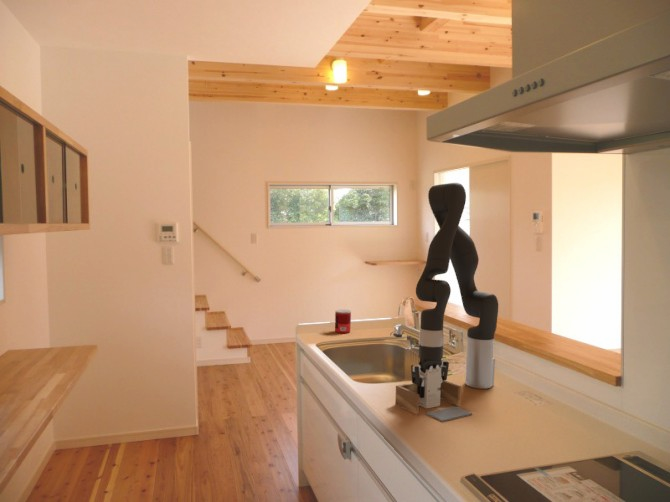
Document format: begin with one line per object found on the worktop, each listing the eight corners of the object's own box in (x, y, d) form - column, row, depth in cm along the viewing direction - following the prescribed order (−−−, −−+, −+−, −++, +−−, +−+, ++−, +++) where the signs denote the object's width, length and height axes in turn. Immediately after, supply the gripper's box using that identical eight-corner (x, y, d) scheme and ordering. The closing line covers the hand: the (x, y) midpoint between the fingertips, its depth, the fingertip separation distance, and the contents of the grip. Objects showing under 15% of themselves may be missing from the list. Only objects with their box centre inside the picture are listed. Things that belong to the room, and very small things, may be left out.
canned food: (353, 332, 273) (354, 311, 272) (342, 334, 267) (343, 312, 266) (342, 329, 278) (342, 308, 277) (331, 331, 272) (332, 310, 272)
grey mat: (455, 407, 167) (455, 406, 167) (471, 414, 161) (471, 413, 161) (425, 414, 160) (426, 412, 160) (442, 422, 155) (442, 420, 154)
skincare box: (426, 409, 165) (428, 370, 164) (416, 404, 168) (418, 366, 168) (441, 405, 168) (442, 367, 167) (431, 401, 172) (432, 364, 171)
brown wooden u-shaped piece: (438, 395, 178) (438, 377, 177) (459, 405, 169) (460, 386, 169) (395, 404, 168) (396, 385, 168) (416, 414, 160) (416, 395, 159)
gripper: (440, 338, 174) (437, 389, 175) (405, 342, 166) (403, 395, 167) (456, 343, 168) (454, 395, 169) (421, 348, 160) (419, 403, 161)
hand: (429, 395), depth 168 cm, fingers closed on skincare box, 6 cm apart
